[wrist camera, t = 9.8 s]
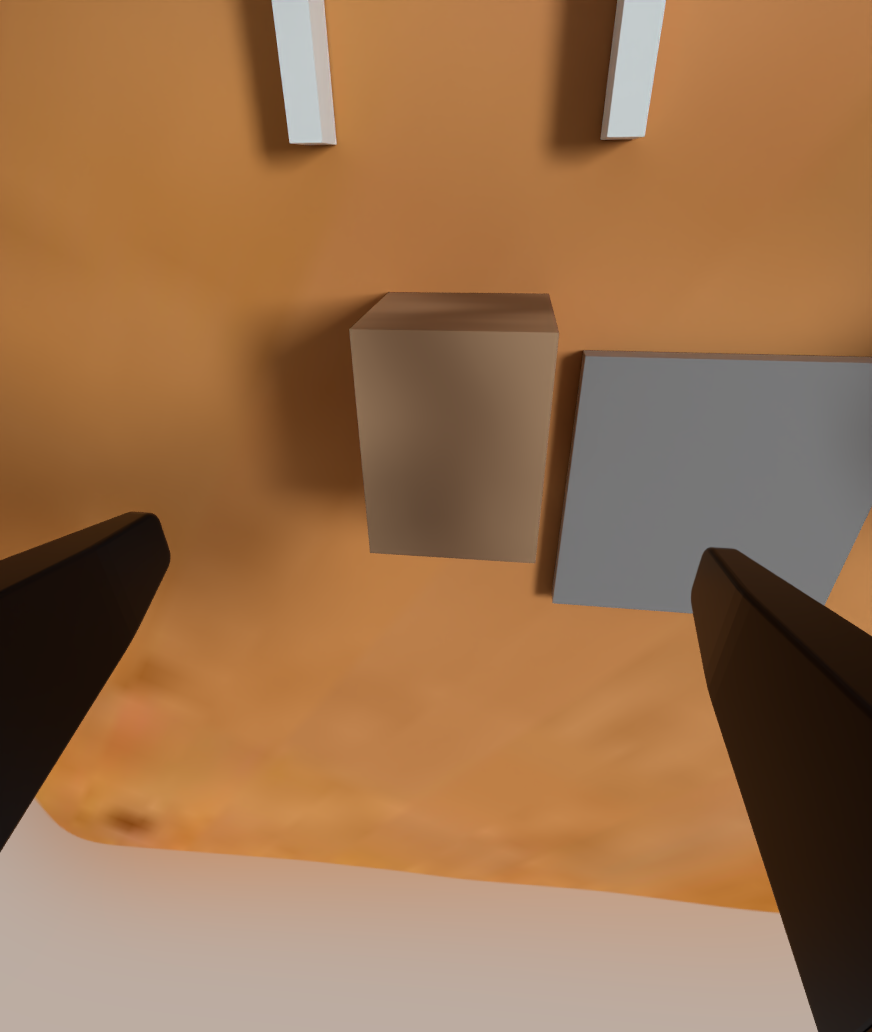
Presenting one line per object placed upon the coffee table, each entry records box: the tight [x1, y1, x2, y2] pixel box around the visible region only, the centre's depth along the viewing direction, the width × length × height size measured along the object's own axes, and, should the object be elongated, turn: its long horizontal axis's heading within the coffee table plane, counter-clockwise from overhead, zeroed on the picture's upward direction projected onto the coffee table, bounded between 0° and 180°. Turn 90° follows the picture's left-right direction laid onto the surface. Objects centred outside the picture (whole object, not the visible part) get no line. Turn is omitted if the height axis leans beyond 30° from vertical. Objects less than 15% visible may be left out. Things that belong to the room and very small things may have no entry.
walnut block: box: [349, 292, 559, 563], centre depth 15 cm, size 4×6×4 cm
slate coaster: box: [552, 350, 872, 613], centre depth 17 cm, size 9×9×1 cm
